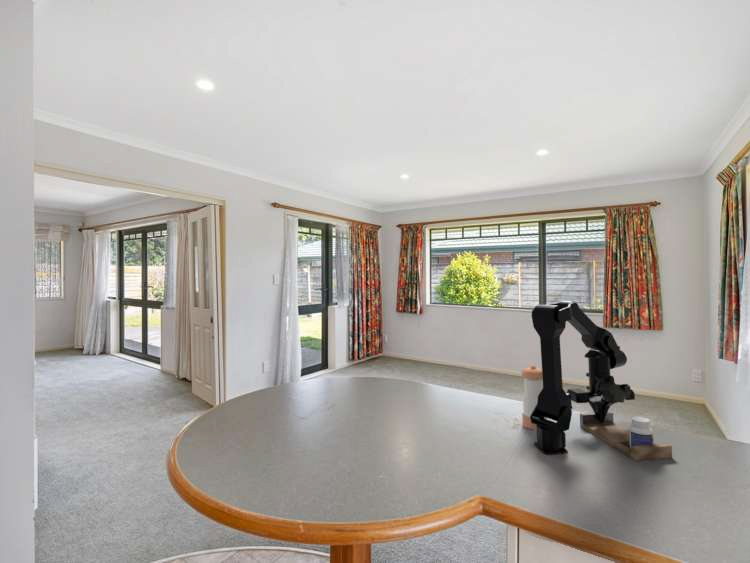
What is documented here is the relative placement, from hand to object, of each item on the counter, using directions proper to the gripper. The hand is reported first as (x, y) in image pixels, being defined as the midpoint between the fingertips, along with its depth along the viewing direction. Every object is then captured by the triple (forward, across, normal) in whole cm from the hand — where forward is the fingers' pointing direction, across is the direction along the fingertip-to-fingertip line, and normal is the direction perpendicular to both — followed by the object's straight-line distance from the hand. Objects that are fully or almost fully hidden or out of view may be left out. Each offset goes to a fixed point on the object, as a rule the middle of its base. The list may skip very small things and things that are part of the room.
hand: (601, 422), depth 117 cm
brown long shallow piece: (+2, 0, -8) cm, 9 cm away
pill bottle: (+2, 0, -16) cm, 16 cm away
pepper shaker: (+2, -18, +6) cm, 19 cm away
